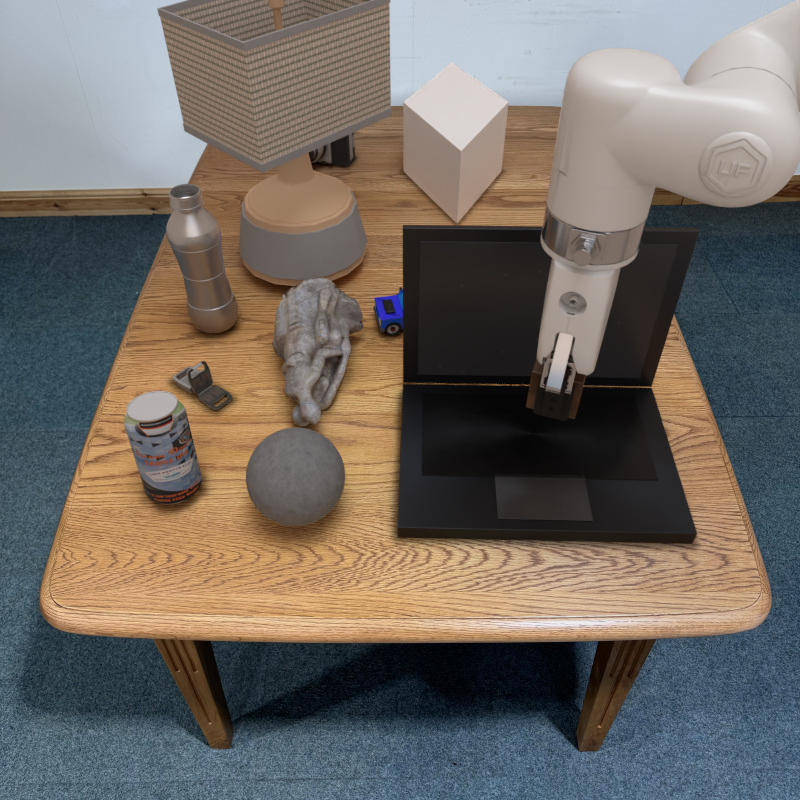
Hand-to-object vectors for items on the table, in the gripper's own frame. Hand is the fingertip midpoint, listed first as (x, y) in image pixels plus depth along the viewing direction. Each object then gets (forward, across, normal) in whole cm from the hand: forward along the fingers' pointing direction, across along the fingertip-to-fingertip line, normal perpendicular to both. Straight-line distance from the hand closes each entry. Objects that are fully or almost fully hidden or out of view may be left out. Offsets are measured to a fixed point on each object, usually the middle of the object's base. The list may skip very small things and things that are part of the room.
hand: (556, 394), depth 68 cm
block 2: (0, 0, 0) cm, 0 cm away
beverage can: (+15, -12, +37) cm, 42 cm away
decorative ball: (+15, -10, +23) cm, 29 cm away
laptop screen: (+2, +14, +4) cm, 15 cm away
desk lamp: (+15, +32, +42) cm, 55 cm away
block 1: (+15, +66, +29) cm, 73 cm away
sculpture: (+15, +8, +29) cm, 34 cm away
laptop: (+15, +4, +1) cm, 15 cm away
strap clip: (+15, +2, +42) cm, 45 cm away
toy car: (+15, +24, +21) cm, 35 cm away
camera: (+15, +60, +54) cm, 83 cm away
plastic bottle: (+15, +14, +47) cm, 51 cm away
